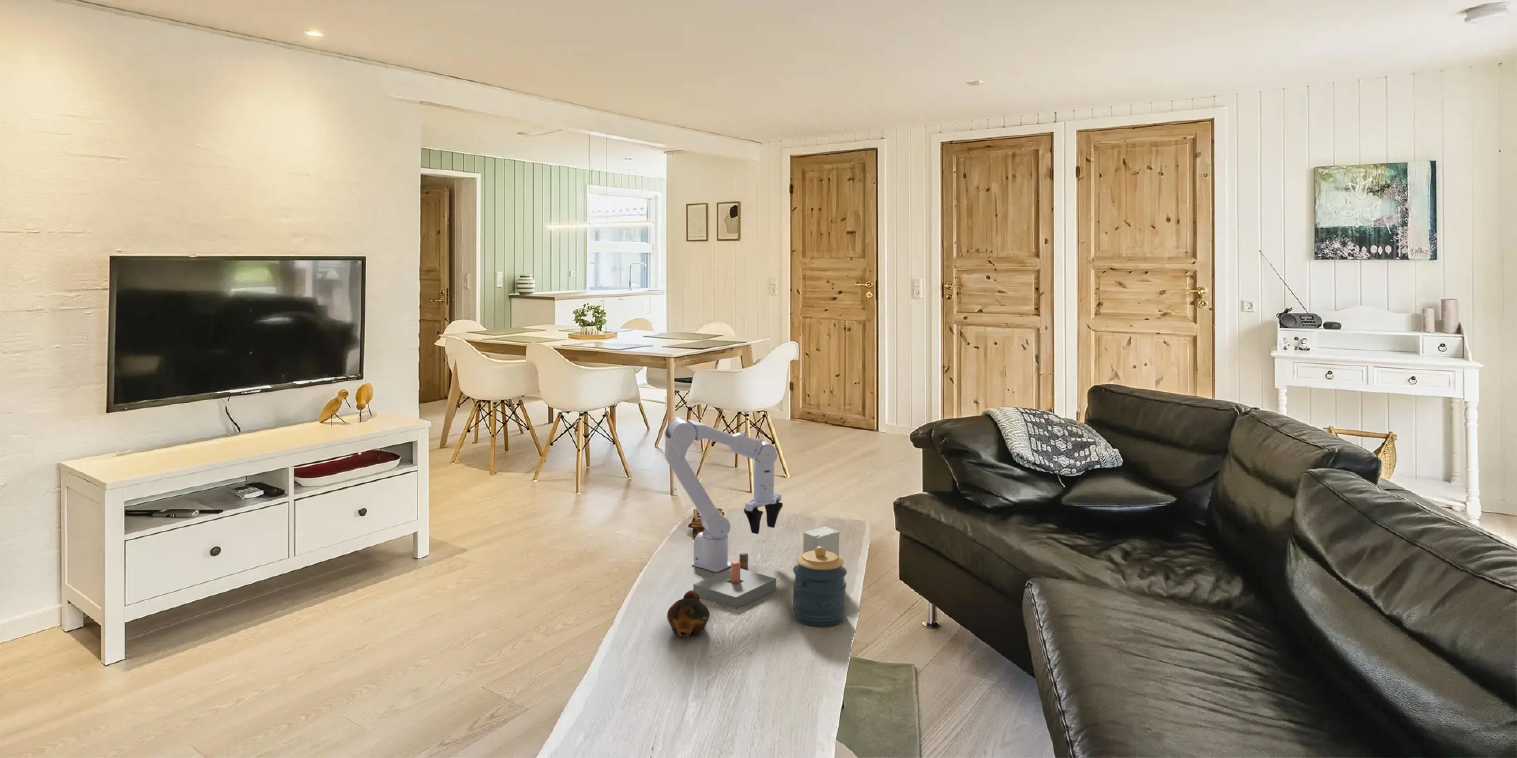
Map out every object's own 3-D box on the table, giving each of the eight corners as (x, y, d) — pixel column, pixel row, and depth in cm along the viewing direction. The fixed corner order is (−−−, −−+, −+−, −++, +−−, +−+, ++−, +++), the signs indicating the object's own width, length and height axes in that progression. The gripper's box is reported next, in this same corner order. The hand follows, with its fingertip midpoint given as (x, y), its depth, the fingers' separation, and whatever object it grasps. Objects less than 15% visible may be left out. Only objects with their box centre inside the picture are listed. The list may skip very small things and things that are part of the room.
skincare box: (823, 578, 232) (825, 525, 230) (839, 584, 227) (840, 530, 225) (801, 584, 226) (802, 530, 225) (816, 591, 222) (817, 536, 220)
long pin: (728, 592, 220) (729, 563, 219) (734, 590, 222) (735, 560, 221) (736, 595, 218) (736, 565, 217) (741, 592, 220) (742, 562, 219)
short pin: (737, 569, 237) (737, 554, 237) (742, 567, 239) (743, 552, 238) (744, 571, 236) (744, 556, 235) (749, 569, 238) (749, 554, 237)
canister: (812, 602, 214) (814, 535, 212) (855, 616, 206) (858, 545, 204) (781, 618, 204) (782, 547, 202) (825, 632, 196) (827, 559, 194)
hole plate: (693, 595, 218) (693, 584, 217) (734, 577, 231) (734, 566, 231) (735, 609, 209) (735, 597, 209) (776, 589, 223) (776, 578, 222)
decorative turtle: (709, 618, 203) (711, 587, 202) (707, 650, 188) (709, 616, 187) (668, 616, 203) (670, 585, 201) (663, 647, 188) (665, 614, 187)
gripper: (759, 490, 233) (758, 538, 235) (790, 481, 245) (789, 527, 246) (739, 486, 237) (739, 533, 239) (770, 477, 249) (769, 522, 251)
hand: (763, 530), depth 243 cm, fingers open, 7 cm apart
